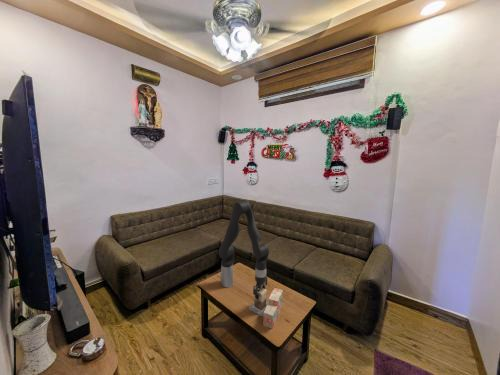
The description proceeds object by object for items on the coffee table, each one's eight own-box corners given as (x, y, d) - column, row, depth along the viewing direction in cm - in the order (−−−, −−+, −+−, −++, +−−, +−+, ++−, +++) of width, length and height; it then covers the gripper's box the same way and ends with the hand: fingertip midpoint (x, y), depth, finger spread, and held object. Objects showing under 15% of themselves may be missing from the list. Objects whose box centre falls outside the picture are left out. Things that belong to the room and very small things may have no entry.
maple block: (254, 298, 141) (254, 291, 140) (259, 293, 146) (259, 286, 145) (261, 302, 138) (262, 294, 137) (266, 297, 142) (266, 289, 141)
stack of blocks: (272, 329, 126) (273, 311, 124) (262, 325, 129) (263, 308, 126) (282, 305, 145) (283, 289, 143) (274, 302, 148) (274, 287, 145)
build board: (248, 309, 141) (248, 307, 141) (258, 298, 151) (258, 297, 151) (262, 316, 135) (262, 315, 135) (271, 305, 145) (271, 304, 145)
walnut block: (254, 306, 142) (254, 298, 141) (258, 301, 147) (259, 293, 146) (261, 310, 139) (261, 302, 138) (266, 305, 144) (266, 297, 142)
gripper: (261, 266, 146) (261, 287, 149) (250, 277, 135) (249, 299, 138) (271, 270, 142) (270, 291, 145) (259, 281, 130) (259, 303, 134)
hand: (260, 295), depth 141 cm, fingers open, 8 cm apart
